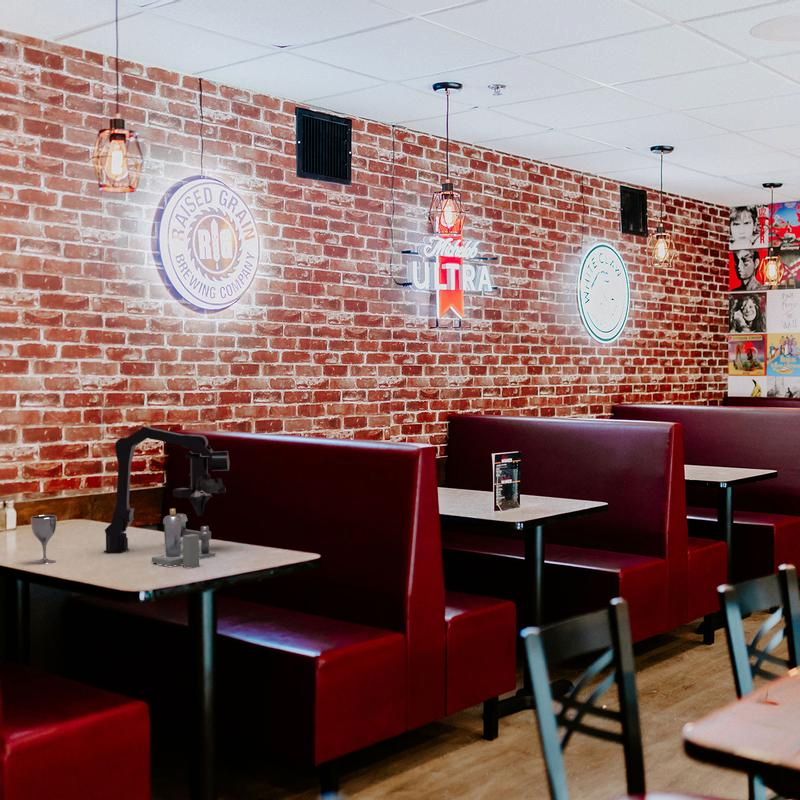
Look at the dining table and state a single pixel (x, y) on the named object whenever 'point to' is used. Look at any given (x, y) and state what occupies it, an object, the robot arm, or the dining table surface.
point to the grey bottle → (173, 534)
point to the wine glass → (44, 532)
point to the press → (185, 553)
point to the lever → (200, 537)
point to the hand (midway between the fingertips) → (199, 515)
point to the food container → (182, 522)
